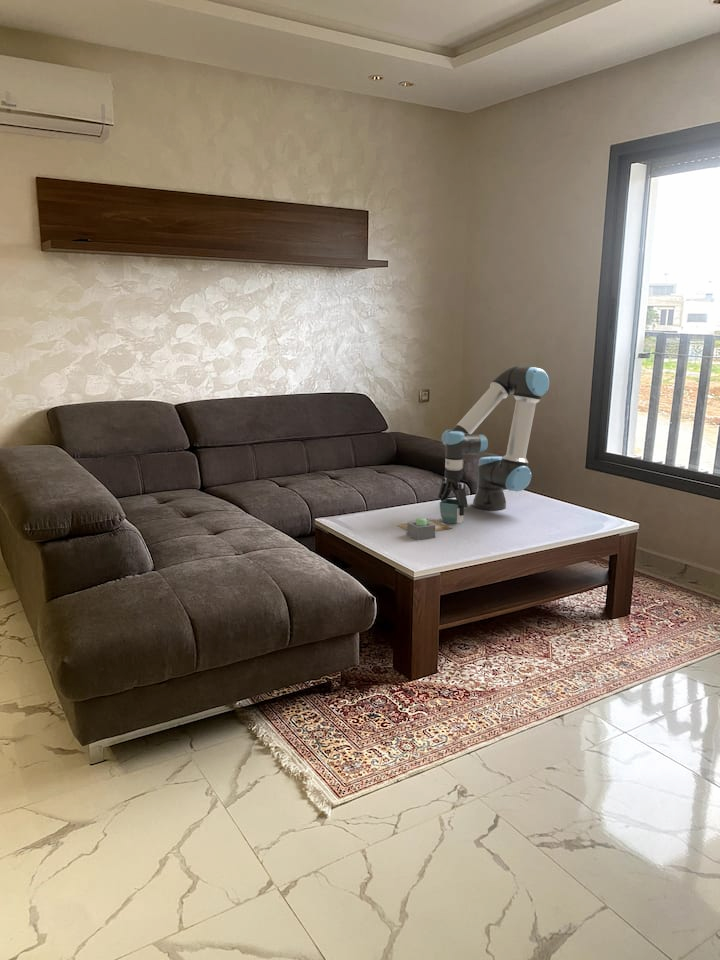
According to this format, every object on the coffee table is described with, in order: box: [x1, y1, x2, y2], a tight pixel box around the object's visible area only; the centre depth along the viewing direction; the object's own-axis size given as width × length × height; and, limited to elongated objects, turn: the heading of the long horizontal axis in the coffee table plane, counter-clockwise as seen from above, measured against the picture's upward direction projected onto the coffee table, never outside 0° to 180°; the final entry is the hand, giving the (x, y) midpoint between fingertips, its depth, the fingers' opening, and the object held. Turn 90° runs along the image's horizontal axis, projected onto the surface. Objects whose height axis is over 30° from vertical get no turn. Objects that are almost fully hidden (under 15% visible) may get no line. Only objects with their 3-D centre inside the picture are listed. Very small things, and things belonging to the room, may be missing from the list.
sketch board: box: [397, 519, 452, 532], centre depth 310 cm, size 18×13×1 cm
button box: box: [406, 521, 436, 541], centre depth 297 cm, size 8×8×5 cm
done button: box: [415, 517, 428, 526], centre depth 296 cm, size 4×4×5 cm
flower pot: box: [439, 498, 466, 525], centre depth 317 cm, size 9×9×9 cm
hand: (451, 519), depth 318 cm, fingers closed on flower pot, 11 cm apart
